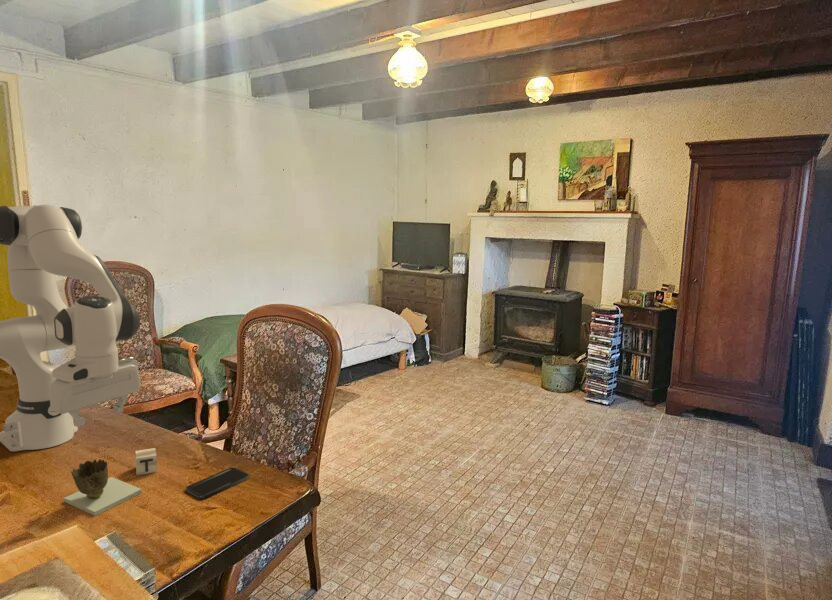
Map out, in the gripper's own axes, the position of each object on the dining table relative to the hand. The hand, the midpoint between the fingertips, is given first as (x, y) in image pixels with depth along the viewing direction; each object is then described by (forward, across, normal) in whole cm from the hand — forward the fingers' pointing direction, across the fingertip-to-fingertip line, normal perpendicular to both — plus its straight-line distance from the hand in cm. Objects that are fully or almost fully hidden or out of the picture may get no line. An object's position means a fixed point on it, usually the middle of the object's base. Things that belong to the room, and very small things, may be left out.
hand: (99, 418), depth 125 cm
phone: (+21, -19, +19) cm, 34 cm away
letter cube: (+21, -14, -3) cm, 26 cm away
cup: (+20, +2, 0) cm, 20 cm away
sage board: (+21, 0, 0) cm, 21 cm away
